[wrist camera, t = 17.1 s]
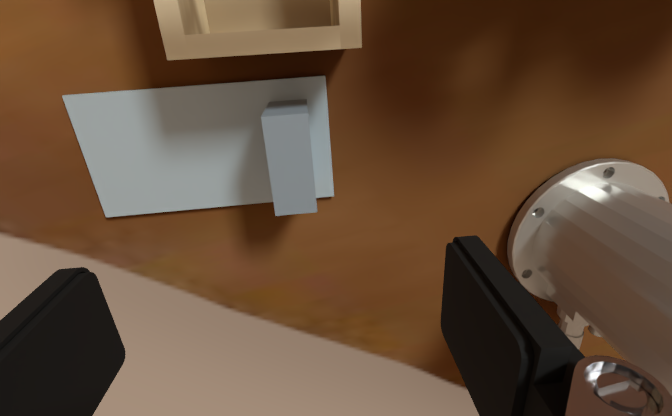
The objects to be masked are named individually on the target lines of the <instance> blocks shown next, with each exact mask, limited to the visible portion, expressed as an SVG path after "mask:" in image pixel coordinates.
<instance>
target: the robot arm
mask: <svg viewBox="0 0 672 416" xmlns="http://www.w3.org/2000/svg"><path fill="white" fill-rule="evenodd" d="M507 256H508V261H509V266H510V268H511V270H512V272H513V274H514V276H515V277H516V278H517V280H518V281H519V282H520V283H521V284H522V285H523V286H524V287H525V288H526V289H527V290H528V291H529V292H530V293H532V294H534V295H535V296H537V297H539V298H542V299H545V300H548V301H553V302H555V303H556V304H557V305H558V307H557V314H558V316H559V317H560V322H559V324H558V325H556V323H555V322H554V321H553V320H552V319H551V318H550V317H549V315H548V314H547V313H546V312H545V311H544V310H543V308H542V307H541V306H540V305H539V304H538V303H537V302H536V300H535V299H534V298H533V297H532V296H531V295H530V294H529V292H528V291H527V290H526V289H525V288H524V287H523V286H522V285H521V284H520V283H519V282H517V281H516V280H515V279H514V278H513V277H512V275H511V274H510V273H509V272H508V271H507V270H506V268H505V267H504V266H503V265H502V264H501V263H500V261H499V260H498V259H497V258H496V257H495V256H494V255H493V253H492V252H491V251H490V250H489V249H488V248H487V246H486V245H485V244H484V243H483V242H482V241H481V239H480V238H479V237H478V236H464V237H455V238H454V239H453V242H452V243H448V244H447V246H446V257H445V270H444V284H443V297H442V311H441V329H442V333H443V336H444V338H445V340H446V342H447V345H448V347H449V349H450V351H451V353H452V356H453V358H454V360H455V362H456V365H457V367H458V369H459V371H460V373H461V376H462V378H463V380H464V382H465V385H466V387H467V389H468V391H469V393H470V395H471V398H472V400H473V402H474V404H475V407H476V409H477V411H478V413H479V415H480V416H672V204H671V203H669V198H668V193H667V191H666V189H665V187H664V185H663V183H662V181H661V180H660V179H659V178H658V177H657V176H656V175H655V174H654V173H653V172H651V171H650V170H648V169H646V168H645V167H643V166H640V165H638V164H635V163H632V162H630V161H626V160H620V159H614V158H611V159H596V160H592V161H587V162H582V163H580V164H577V165H575V166H572V167H570V168H567V169H565V170H564V171H562V172H560V173H559V174H557V175H555V176H553V177H552V178H550V179H549V180H548V181H547V182H545V183H544V184H543V185H542V186H540V187H539V188H538V189H537V190H536V191H535V192H534V193H533V194H532V195H531V196H530V198H529V199H528V200H527V201H526V202H525V204H524V205H523V207H522V208H521V210H520V211H519V212H518V214H517V216H516V218H515V220H514V222H513V225H512V227H511V230H510V234H509V238H508V245H507ZM588 325H589V327H588V330H589V331H590V332H591V333H592V334H593V335H596V336H598V337H603V338H604V339H605V340H606V341H607V342H608V343H609V344H610V345H611V346H612V347H613V348H614V349H615V350H616V351H617V352H618V353H619V354H620V355H621V356H622V357H623V358H624V359H625V360H626V361H624V360H621V359H617V358H613V357H610V356H598V355H595V356H589V357H584V355H583V354H582V353H581V352H580V351H579V349H580V345H581V342H582V338H583V335H584V331H583V330H584V326H588ZM124 359H125V348H124V346H123V343H122V341H121V338H120V335H119V333H118V330H117V328H116V325H115V323H114V320H113V318H112V315H111V313H110V310H109V307H108V305H107V302H106V300H105V297H104V295H103V292H102V289H101V287H100V284H99V281H98V279H97V277H96V275H95V274H94V273H92V272H90V271H89V270H88V269H86V268H84V267H83V268H82V267H81V268H69V269H59V270H58V271H56V272H55V273H54V274H52V275H51V276H50V277H49V278H48V279H47V280H46V281H44V282H43V283H42V284H41V285H40V286H39V287H38V288H36V289H35V290H34V291H33V292H32V293H31V294H30V295H29V296H27V297H26V298H25V299H24V300H23V301H22V302H21V303H20V304H18V305H17V306H16V307H15V308H14V309H13V310H12V311H11V312H10V313H8V314H7V315H6V316H5V317H4V318H3V319H2V320H0V416H92V415H93V414H94V412H95V410H96V408H97V407H98V405H99V403H100V402H101V400H102V398H103V397H104V395H105V393H106V392H107V390H108V388H109V386H110V385H111V383H112V381H113V380H114V378H115V376H116V375H117V373H118V371H119V370H120V368H121V366H122V365H123V362H124Z"/></svg>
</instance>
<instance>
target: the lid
mask: <svg viewBox="0 0 672 416" xmlns="http://www.w3.org/2000/svg"><path fill="white" fill-rule="evenodd" d="M62 97H63V100H64V103H65V106H66V109H67V111H68V114H69V117H70V120H71V122H72V125H73V128H74V131H75V133H76V136H77V139H78V142H79V144H80V147H81V150H82V153H83V155H84V158H85V161H86V164H87V166H88V169H89V172H90V175H91V177H92V180H93V183H94V186H95V189H96V191H97V194H98V197H99V200H100V202H101V205H102V208H103V211H104V213H105V216H106V217H116V216H127V215H138V214H149V213H159V212H170V211H181V210H192V209H202V208H213V207H224V206H235V205H245V204H256V203H267V202H274V209H275V216H281V215H292V214H302V213H313V212H317V202H316V198H321V197H331V196H334V188H333V174H332V160H331V147H330V133H329V119H328V105H327V91H326V78H325V75H323V76H310V77H297V78H284V79H271V80H257V81H244V82H231V83H218V84H205V85H192V86H179V87H165V88H152V89H139V90H126V91H113V92H100V93H87V94H73V95H64V96H62Z"/></svg>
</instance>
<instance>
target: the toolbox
mask: <svg viewBox="0 0 672 416" xmlns="http://www.w3.org/2000/svg"><path fill="white" fill-rule="evenodd" d="M153 1H154V5H155V10H156V14H157V18H158V22H159V27H160V31H161V35H162V40H163V44H164V48H165V53H166V57H167V60H182V59H197V58H212V57H228V56H243V55H258V54H274V53H289V52H304V51H320V50H335V49H350V48H362V32H361V0H153Z"/></svg>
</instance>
